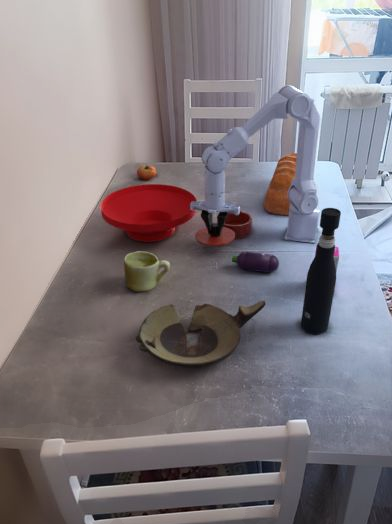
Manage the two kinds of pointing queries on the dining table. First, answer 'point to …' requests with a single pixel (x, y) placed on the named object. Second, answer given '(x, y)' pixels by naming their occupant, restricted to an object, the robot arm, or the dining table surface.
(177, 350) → the olive round shallow dish
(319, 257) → the black bottle
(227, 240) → the pot lid
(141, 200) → the bowl
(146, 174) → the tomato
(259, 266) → the eggplant
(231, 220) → the pot
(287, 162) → the bread
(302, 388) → the dining table surface
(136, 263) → the mug
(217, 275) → the dining table surface
